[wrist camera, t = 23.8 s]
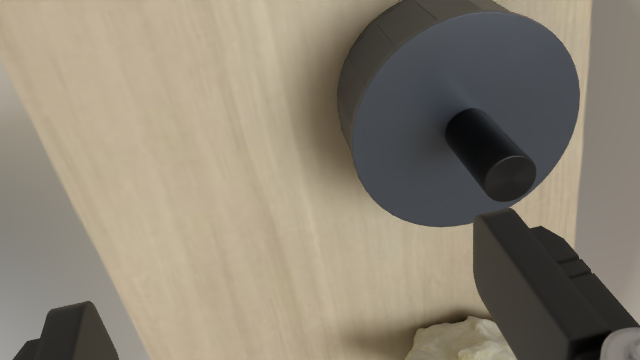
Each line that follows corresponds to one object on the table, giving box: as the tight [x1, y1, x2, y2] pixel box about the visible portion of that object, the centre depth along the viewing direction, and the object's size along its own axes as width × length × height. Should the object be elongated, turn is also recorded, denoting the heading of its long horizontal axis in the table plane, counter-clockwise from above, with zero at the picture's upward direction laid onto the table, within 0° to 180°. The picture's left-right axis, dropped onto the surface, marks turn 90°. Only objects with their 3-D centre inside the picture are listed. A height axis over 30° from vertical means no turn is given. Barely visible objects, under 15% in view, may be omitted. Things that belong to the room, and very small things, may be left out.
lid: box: [351, 9, 580, 227], centre depth 35 cm, size 15×15×7 cm
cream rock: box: [404, 316, 517, 360], centre depth 53 cm, size 15×7×15 cm
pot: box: [337, 0, 510, 149], centre depth 40 cm, size 14×14×6 cm
